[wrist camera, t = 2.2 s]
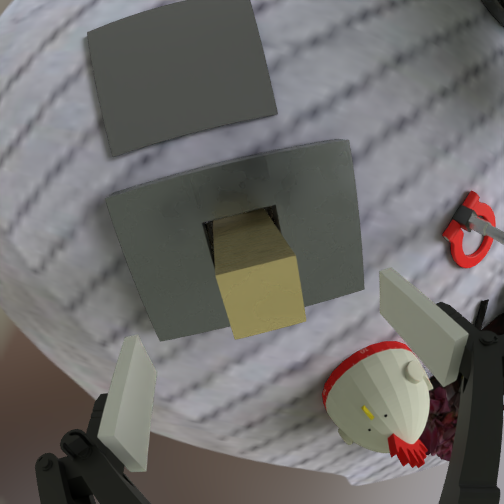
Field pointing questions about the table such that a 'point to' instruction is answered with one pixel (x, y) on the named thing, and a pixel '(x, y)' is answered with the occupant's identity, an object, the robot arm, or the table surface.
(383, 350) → the kitchen timer
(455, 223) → the tow hook
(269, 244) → the brass plug
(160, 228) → the socket plate
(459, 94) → the table surface
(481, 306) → the flower arrangement
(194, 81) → the rubber mat
